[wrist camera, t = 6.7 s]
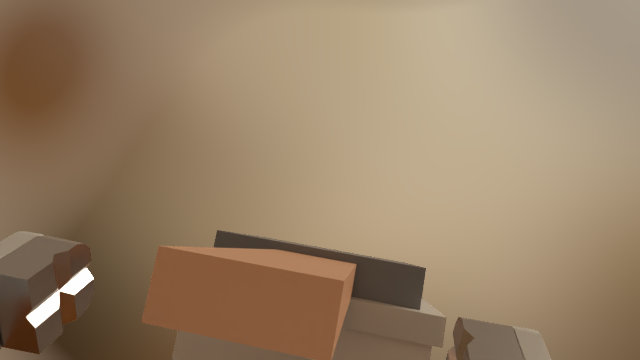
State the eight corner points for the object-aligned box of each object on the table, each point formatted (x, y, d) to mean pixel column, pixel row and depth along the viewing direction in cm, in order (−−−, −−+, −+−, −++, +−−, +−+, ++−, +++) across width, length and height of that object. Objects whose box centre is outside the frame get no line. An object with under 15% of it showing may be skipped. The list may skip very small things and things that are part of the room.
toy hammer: (505, 399, 6) (517, 292, 6) (-2, 291, 7) (23, 201, 7) (401, 291, 24) (406, 263, 24) (258, 263, 25) (263, 237, 25)
